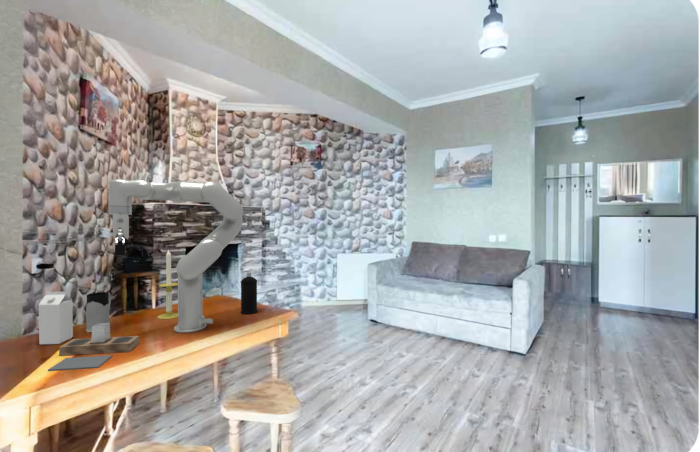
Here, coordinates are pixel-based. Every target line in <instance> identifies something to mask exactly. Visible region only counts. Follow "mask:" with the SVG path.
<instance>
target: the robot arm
mask: <svg viewBox="0 0 700 452" xmlns="http://www.w3.org/2000/svg"><path fill="white" fill-rule="evenodd" d="M108 186H109V191H108V215H112V234H113V235H112V237H113V239H114V240H115V243H114V255H115V256H125V255H126V243H125V239H126V240H129V238H130V237H129V236H130V235H129V234H130V233H129V232H130V230H129V229H130V220H129V219H130V218H129V215H130V216H132V214H133V213H132V212H133V209H132V204H133V203H132V201H133V198H134V199H140V200H144V201H145V200H146V201H171V202H182V203H183V202H184V203H185V202H187V203H189V202H190V203H193V202H194V203H209V204H210V205H211V206H212V208H214V209H215V210H216V211H217V212H219V214H221V216H222V217H223V219H222V222H221V223H220V224H218V226H217V227H216V228H215V229H214V230H213V231H212V232H210V234H209V235H207V236H206V237H204V238H203V239H202V240H201V241H200V242H199V243H198V244H197V245H196V246H195V247H194V248H193V249H191V250H190V251H189V252H188V253H187V254H185V255H184V256H182V257H181V258H179V260H178V262H177V264H176V266H175V268H176V274H177V283H178V285H177V313H178V317H177V324H176V325H175V326H174V327H173V331H174V332H176V333H181V334H182V333H184V334H185V333H194V332H199V331H202V330H204V329H205V328H207V324H208V325H211V324H214V320H213V319H212V318H210V317H208V318H206V317H205V315H203V273H204V272H206V270H207V269H209V268H210V267H211V266H212V265H213V264H214V263H215V262H216V261H217V260H218V259H219V257H220V256H222V252H223V250H224V249H225V248H226V247H227V246H228V245H229V244H230V243H231V242H232V241H233V240H234V239H235V238H236V236H238V235H239V234H240V232H241V229H242V226H243V218H244V217H243V216H244V209H243V206H242V204H241V203H240V202H239V201H238V200H237V199H235V197H234V196H233V195H232V194H230V193H229V192H228V191H227V190H226V189H225V188H224V187H223V186H222V185H220V184H219V182H216V181H207V182H197V181H183V180H180V181H174V182H150V181H147V180H144V179H131V180H130V179H129V180H127V179H116V178H115V179H110V180H109V185H108Z"/></svg>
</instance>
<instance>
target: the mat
mask: <svg viewBox="0 0 700 452" xmlns="http://www.w3.org/2000/svg"><path fill="white" fill-rule="evenodd" d="M112 357H113V355H112V354H109V355H94V356H93V355H91V356H78V357H77V356H75V357H65V358H64V359H62V360H61V361H59V362H58V363H56V364H54V365H52V366H51V367H50V368H48V369H47V371H48V372H52V371H55V372H56V371H67V370H82V369H83V370H84V369H98V368H100V367H101V366H102V365H104V364H105V363H107V361H108V360H110V359H111V358H112Z"/></svg>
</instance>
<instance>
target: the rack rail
mask: <svg viewBox="0 0 700 452" xmlns="http://www.w3.org/2000/svg"><path fill="white" fill-rule="evenodd" d="M138 345H140V335H128V336H110V340H109V341H108V342H107V343H103V344H92V337H89V338H72V339H71V340H68V341H67V342H66V343H63V344H62V345H61V346H59V347H58V348H59V349H58V352H59V353H58V356H59V357H60V356H61V357H62V356H63V357H65V356H64V355H66V356H79V355H78V354H83V355H98V354H111V353H112V354H114V353H115V354H116V353H130V352H131V351H132V350H134V349H135V348H136V347H137V346H138ZM76 354H77V355H76Z"/></svg>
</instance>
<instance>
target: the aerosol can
mask: <svg viewBox="0 0 700 452" xmlns="http://www.w3.org/2000/svg"><path fill="white" fill-rule="evenodd" d="M239 282H240V314H242V315H252V314H253V315H254V314H256V313H258V279H256V278H255V277H253V276H252V272H250V271H249V272H246V277H243V278H242V279H241V280H240V281H239Z"/></svg>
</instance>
